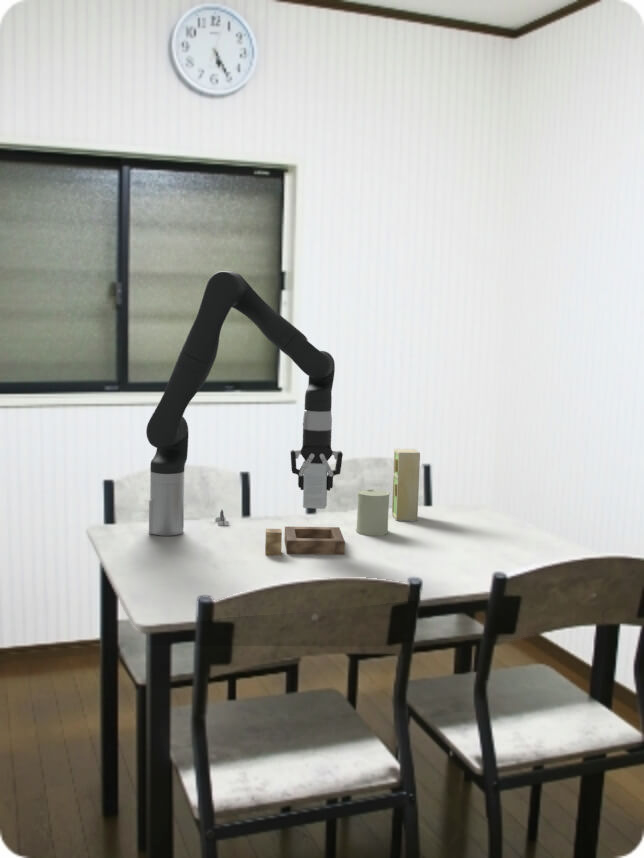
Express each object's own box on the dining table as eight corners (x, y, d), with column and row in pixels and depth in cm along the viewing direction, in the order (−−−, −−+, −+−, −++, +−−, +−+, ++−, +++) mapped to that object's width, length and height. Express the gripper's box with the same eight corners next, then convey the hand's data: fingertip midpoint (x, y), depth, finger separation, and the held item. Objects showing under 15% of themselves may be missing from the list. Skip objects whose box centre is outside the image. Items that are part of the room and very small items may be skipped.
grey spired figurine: (208, 522, 271) (208, 507, 271) (230, 521, 273) (230, 507, 273) (217, 535, 257) (217, 519, 257) (241, 534, 259) (241, 518, 259)
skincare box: (326, 505, 247) (328, 461, 246) (325, 509, 243) (326, 464, 242) (304, 504, 248) (305, 460, 246) (302, 508, 244) (303, 463, 242)
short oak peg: (265, 555, 237) (266, 532, 236) (265, 551, 241) (265, 528, 240) (281, 555, 237) (281, 532, 237) (280, 551, 241) (281, 528, 241)
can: (380, 527, 271) (382, 487, 270) (393, 535, 262) (395, 493, 261) (351, 528, 268) (353, 488, 267) (362, 536, 260) (364, 494, 258)
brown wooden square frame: (286, 553, 239) (287, 540, 239) (284, 538, 254) (284, 526, 253) (344, 554, 240) (344, 541, 240) (338, 539, 255) (339, 527, 255)
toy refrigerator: (388, 514, 288) (391, 448, 285) (412, 515, 288) (415, 448, 286) (393, 520, 280) (396, 452, 277) (417, 521, 281) (420, 452, 278)
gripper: (290, 428, 238) (288, 492, 241) (346, 429, 240) (343, 493, 242) (289, 424, 246) (287, 486, 248) (343, 426, 247) (340, 487, 249)
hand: (315, 489), depth 245 cm, fingers closed on skincare box, 6 cm apart
